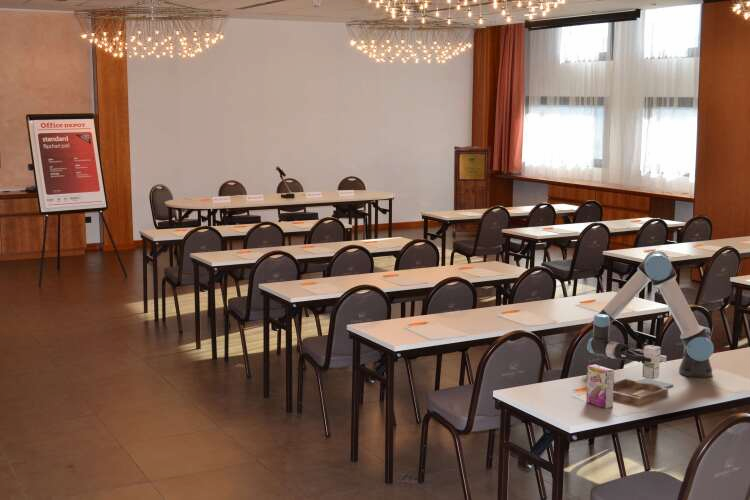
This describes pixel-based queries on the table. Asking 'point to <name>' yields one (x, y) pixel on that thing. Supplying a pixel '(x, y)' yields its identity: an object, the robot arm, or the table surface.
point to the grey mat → (656, 383)
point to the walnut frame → (656, 391)
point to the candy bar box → (600, 386)
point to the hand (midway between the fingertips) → (661, 360)
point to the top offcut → (641, 393)
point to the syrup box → (649, 368)
